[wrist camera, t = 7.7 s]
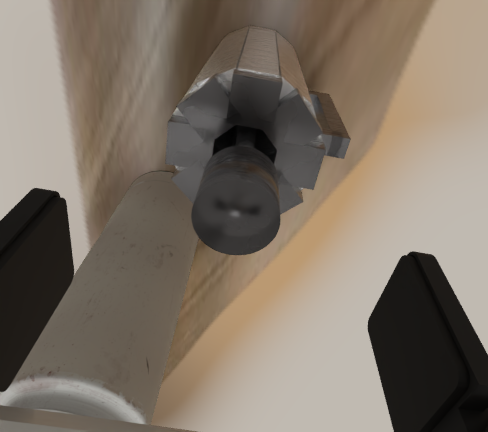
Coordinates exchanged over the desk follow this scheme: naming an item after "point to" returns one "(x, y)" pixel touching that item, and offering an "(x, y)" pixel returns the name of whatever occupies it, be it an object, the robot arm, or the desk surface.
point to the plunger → (238, 199)
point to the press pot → (255, 114)
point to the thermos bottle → (116, 313)
